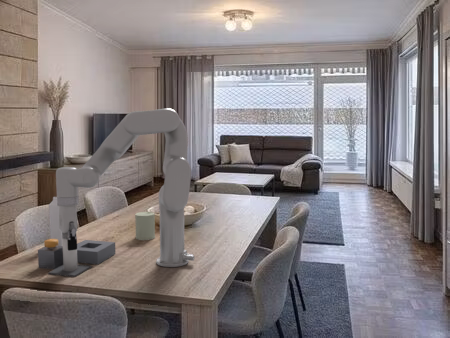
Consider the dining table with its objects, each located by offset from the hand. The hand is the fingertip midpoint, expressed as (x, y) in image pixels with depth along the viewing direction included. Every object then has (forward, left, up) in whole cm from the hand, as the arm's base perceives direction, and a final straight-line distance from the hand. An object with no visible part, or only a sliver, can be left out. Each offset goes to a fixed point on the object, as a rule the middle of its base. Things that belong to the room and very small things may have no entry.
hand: (69, 246), depth 169 cm
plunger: (+10, -3, -8) cm, 13 cm away
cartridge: (0, 0, -9) cm, 9 cm away
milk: (+23, -27, -9) cm, 37 cm away
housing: (+1, -16, -9) cm, 18 cm away
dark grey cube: (+10, -3, -9) cm, 14 cm away
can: (-7, -50, -10) cm, 51 cm away
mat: (0, 0, -9) cm, 9 cm away
